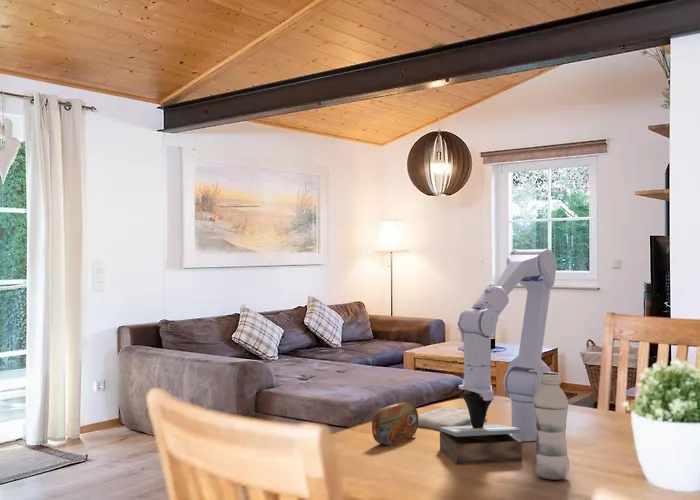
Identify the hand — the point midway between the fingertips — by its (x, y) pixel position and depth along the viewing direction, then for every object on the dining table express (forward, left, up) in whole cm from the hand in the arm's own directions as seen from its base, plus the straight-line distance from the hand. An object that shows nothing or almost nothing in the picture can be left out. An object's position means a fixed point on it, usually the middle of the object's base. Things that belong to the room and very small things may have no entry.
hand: (477, 427), depth 157 cm
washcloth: (-3, -29, -6) cm, 30 cm away
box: (0, +1, -6) cm, 6 cm away
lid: (0, +1, -1) cm, 1 cm away
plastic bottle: (-8, +19, -6) cm, 21 cm away
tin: (+15, -14, -6) cm, 21 cm away
